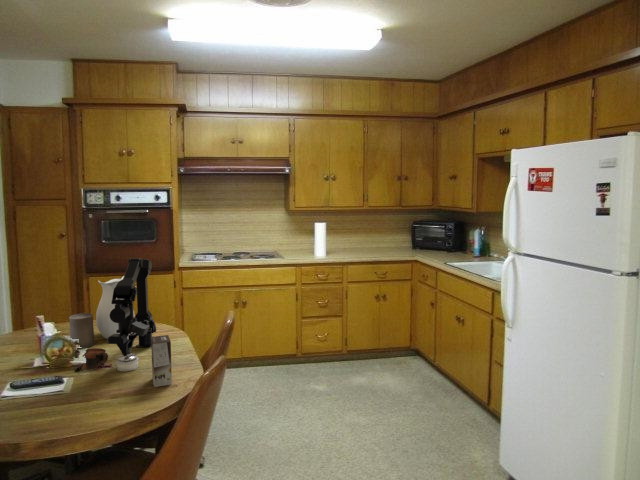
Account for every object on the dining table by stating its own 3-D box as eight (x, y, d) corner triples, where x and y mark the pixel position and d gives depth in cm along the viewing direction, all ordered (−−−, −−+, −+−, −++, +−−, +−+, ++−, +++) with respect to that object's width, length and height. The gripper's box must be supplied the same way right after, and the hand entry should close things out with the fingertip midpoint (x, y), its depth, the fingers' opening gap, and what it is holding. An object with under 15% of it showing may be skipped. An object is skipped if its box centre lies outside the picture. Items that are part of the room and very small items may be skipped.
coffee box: (172, 384, 178) (171, 341, 176) (153, 387, 175) (152, 343, 173) (169, 375, 186) (168, 334, 184) (151, 378, 184) (150, 336, 182)
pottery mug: (75, 370, 192) (78, 349, 196) (94, 373, 200) (96, 353, 204) (98, 366, 188) (101, 345, 191) (117, 369, 196) (119, 349, 199)
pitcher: (122, 342, 226) (120, 282, 223) (88, 339, 229) (86, 281, 226) (148, 327, 249) (147, 273, 246) (118, 325, 252) (116, 272, 249)
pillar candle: (99, 342, 225) (97, 310, 223) (85, 349, 215) (83, 316, 214) (79, 341, 226) (78, 309, 225) (65, 348, 217) (63, 315, 215)
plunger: (123, 354, 198) (122, 344, 197) (140, 355, 197) (139, 345, 196) (114, 360, 190) (113, 350, 190) (131, 361, 190) (131, 350, 189)
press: (125, 361, 201) (125, 353, 201) (145, 362, 200) (144, 353, 200) (112, 371, 190) (112, 362, 190) (132, 371, 190) (132, 363, 189)
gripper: (134, 323, 182) (136, 363, 184) (155, 310, 200) (156, 347, 202) (105, 322, 183) (107, 362, 185) (129, 309, 201) (130, 346, 203)
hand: (127, 354), depth 194 cm, fingers closed on plunger, 3 cm apart
